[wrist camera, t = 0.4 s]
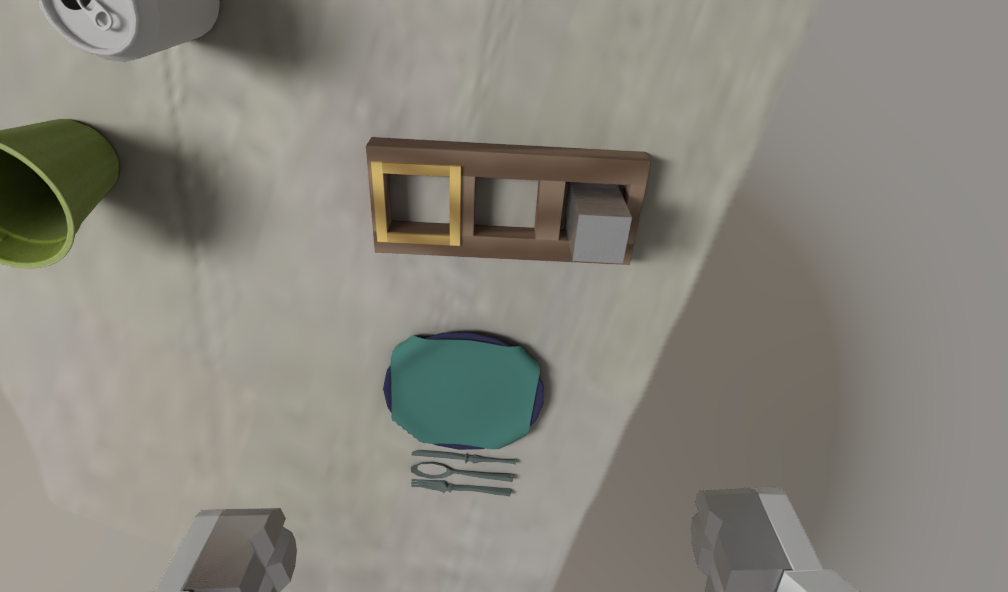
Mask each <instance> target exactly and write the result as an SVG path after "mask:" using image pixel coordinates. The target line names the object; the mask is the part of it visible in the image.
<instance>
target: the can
mask: <svg viewBox="0 0 1008 592" xmlns="http://www.w3.org/2000/svg"><path fill="white" fill-rule="evenodd" d="M38 2H39V5H40V8H41V9H42V11H43V13H44V14H45V16H46V18H47V19H48V21H49V23H50V24H51V25H52V26H53V27H54V28H55V29H56V30H57V32H58V33H59V34H60V35H61V36H62V37H63V38H64V39H66V40H67V41H69V42H70V43H71V44H73V45H74V46H76V47H77V48H79V49H81V50H84V51H86V52H89V53H91V54H94V55H97V56H99V57H102V58H104V59H106V60H112V61H121V62H126V61H130V60H135V59H139V58H142V57H145V56H148V55H151V54H153V53H156V52H159V51H162V50H165V49H168V48H171V47H173V46H176V45H179V44H182V43H185V42H188V41H190V40H193V39H196V38H199V37H202V36H203V35H204V34H205V33H207V32H208V31H209V30H211V29H212V27H213V25H214V23H215V22H216V20H217V18H218V13H219V6H220V0H38Z"/></svg>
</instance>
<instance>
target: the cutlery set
mask: <svg viewBox="0 0 1008 592" xmlns="http://www.w3.org/2000/svg"><path fill="white" fill-rule="evenodd" d="M539 373H540V368H539V365H538V363H537V361H535V360H533V358H532V357H531V356H529V355H528V353H527V352H526V351H525V350H523V348H522V347H521V346H516V347H513V346H511V345H509V344H507V343H505V342H503V341H501V340H499V339H497V338H494V337H490V336H485V335H481V334H476V333H472V332H453V333H440V334H437V335H434V336H430V337H427V338H424V339H422V338H419V337H416V336H411V337H410V338H408V339H407V340H406V341H404V342H402V343H400V344H399V345H397V346H396V347H395V348H394V350H393V352H392V356H391V365H390V367H389V368H388V370H387V372H386V377H385V382H384V387H383V391H384V395H385V399H386V403H387V407H388V409H389V410H390V412H391V413H392V421H395V422H396V423H397V425H399V426H402V428H403V429H404V430H407V432H408V433H409V434H412V435H413V437H414V438H417V439H418V440H419V441H420V442H423V443H431V444H434V445H437V446H443V447H448V448H453V449H458V450H466V449H485V448H487V449H500V448H502V447H505V446H507V445H509V444H511V443H512V442H514V441H516V440H518V439H520V438H522V437H524V436H526V435H527V434H528V432H529V427H530V426H531V425H532V424H533V423H534V422H535V421H536V419H537V417H538V415H539V412H540V410H541V408H542V405H543V383H542V381H541V379H540V377H539ZM412 455H414V456H426V457H438V458H450V459H462V460H465V463H467V462H468V461H471V462H473V463H478V462H482V461H483V462H503V463H512V464H515V465H516V459H515V460H500V459H491V458H482V457H480V456H477V455H472V456H470V455H468V454H467V453H466V455H461V454H455V453H449V452H439V451H426V450H418V451H414V452H412ZM420 464H436V465H440V466H444V467H445V468H447V472H445V473H443V474H440V475H429V474H424V473H422V472H420V471H419V470H417V467H418V465H420ZM420 464H418V465H415V466H412V467H411V472H412V473H414V474H416V475H418V476H420V477H425V478H430V479H433V478H444V477H447V476H449V475H451V474H452V473H457V474H462V475H468V476H474V477H479V478H486V479H494V480H502V481H510V482H512V481H513V474H491V473H478V472H470V471H460V470H454V469H450V468H448V467H446V466H445V465H443V464H440V463H435V462H423V463H420ZM412 481H417V482H412V483H411V484H420V485H411V487H423V488H427V489H432V490H438V491H442V492H443V493H444V492H446V491H449V492H451V491H452V490H458V491H477V492H484V493H490V494H495V495H504V496H510V494H511V489H509V488H493V487H486V486H473V485H452V483H449V484H447V482H446V481H445V480H416V479H412Z"/></svg>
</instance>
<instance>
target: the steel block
mask: <svg viewBox="0 0 1008 592" xmlns="http://www.w3.org/2000/svg"><path fill="white" fill-rule="evenodd" d="M631 220H632V217H631V214H630V212H629V210H628V207H627V205H626V203H625V200H624V198H623V196H622V193H621V191H620V189H619V186H618V184H601V183H582V182H570V186H569V194H568V202H567V210H566V218H565V225H566V230H567V235H568V240H569V245H570V251H571V256H572V261H583V262H603V263H623V260H624V255H625V250H626V245H627V240H628V235H629V230H630V225H631Z"/></svg>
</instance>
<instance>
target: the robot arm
mask: <svg viewBox="0 0 1008 592" xmlns="http://www.w3.org/2000/svg"><path fill="white" fill-rule="evenodd" d="M695 505H696V508H697V511H698V513H697V514H695V515H694V516H693V517H692V521H691V528H690V529H691V544H692V549H693V553H694V557H695V561H696V564H697V567H698V568H699V569H700V570H701V571H702V572H703V573H704V574H705V575H706V576H707V582H706V587H705V592H860V591H859V590H858V589H857V588H856V587H854V586H853V585H852V584H850V583H849V582H848V581H847V580H846V579H844V578H843V577H842V576H841V575H839V574H838V573H837V572H836V571H834V570H833V569H824V568H823V566H822V564H821V562H820V560H819V558H818V556H817V554H816V552H815V550H814V548H813V546H812V544H811V542H810V540H809V538H808V536H807V534H806V532H805V531H804V528H803V526H802V524H801V522H800V521H799V519H798V517H797V515H796V513H795V511H794V509H793V507H792V505H791V503H790V501H789V499H788V497H787V495H786V493H785V492H784V491H783V490H782V489H781V488H778V487H771V488H754V489H751V488H737V489H719V490H702V491H699V492H698V493H697V494H696V500H695ZM285 519H286V518H285V516H284V514H283V512H282V510H281V508H262V509H215V510H201V511H200V512H199V513H198V514H197V515H196V516H195V517H194V518H193V520H192V522H191V523H190V525H189V527H188V529H187V531H186V533H185V534H184V536H183V538H182V540H181V542H180V544H179V545H178V547H177V549H176V551H175V553H174V555H173V557H172V558H171V560H170V562H169V564H168V566H167V568H166V569H165V571H164V573H163V575H162V577H161V579H160V581H159V582H158V584H157V586H156V588H155V590H154V591H153V592H280V591H281V590H282V589H283V588H284V587H285V586H286V585H287V584H288V583H289V582H290V581H291V578H292V575H293V572H294V569H295V563H296V554H297V548H296V541H295V538H294V536H293V533H292V532H291V531H289V530H288V529H286V528H284V527H283V525H284V522H285Z"/></svg>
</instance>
